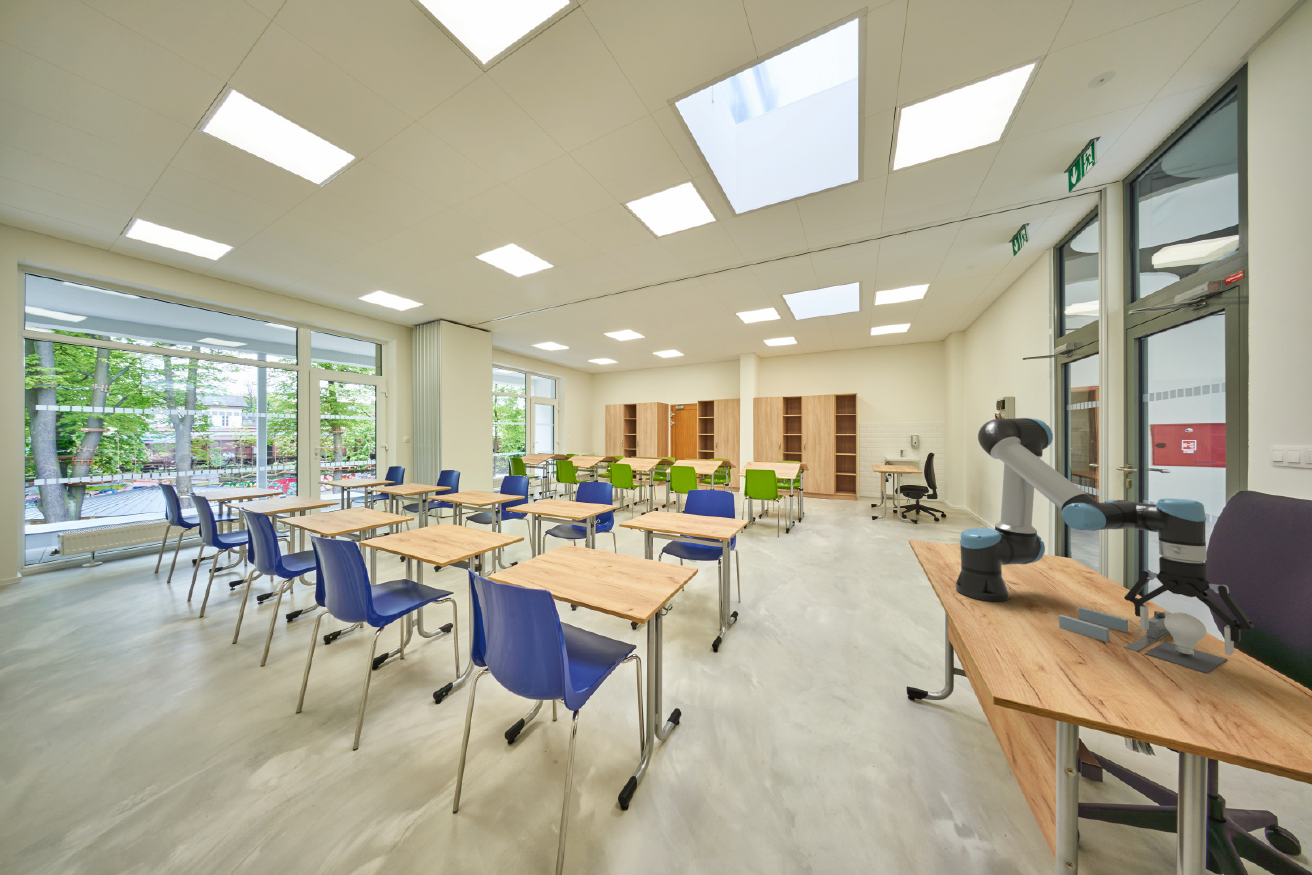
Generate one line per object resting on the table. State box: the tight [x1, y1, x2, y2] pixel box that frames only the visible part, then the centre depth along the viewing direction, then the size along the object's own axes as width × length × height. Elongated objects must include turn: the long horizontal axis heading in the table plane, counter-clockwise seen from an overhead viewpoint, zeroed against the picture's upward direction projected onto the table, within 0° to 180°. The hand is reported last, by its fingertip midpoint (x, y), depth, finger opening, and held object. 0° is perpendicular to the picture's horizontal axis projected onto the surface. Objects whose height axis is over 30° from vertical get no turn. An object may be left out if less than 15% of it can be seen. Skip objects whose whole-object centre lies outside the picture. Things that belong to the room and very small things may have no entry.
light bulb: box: [1164, 612, 1207, 656], centre depth 104 cm, size 7×7×11 cm
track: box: [1123, 631, 1171, 653], centre depth 114 cm, size 2×28×1 cm, turn 114°
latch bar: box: [1146, 610, 1172, 639], centre depth 116 cm, size 2×13×6 cm, turn 114°
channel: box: [1058, 606, 1129, 643], centre depth 119 cm, size 10×14×4 cm
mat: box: [1144, 641, 1228, 675], centre depth 104 cm, size 10×14×1 cm
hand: (1184, 640), depth 104 cm, fingers open, 13 cm apart
